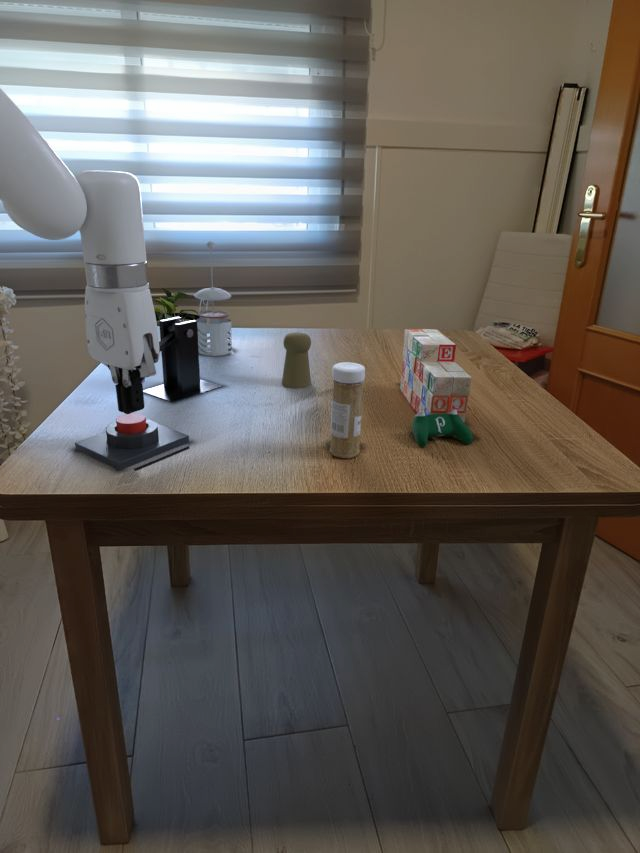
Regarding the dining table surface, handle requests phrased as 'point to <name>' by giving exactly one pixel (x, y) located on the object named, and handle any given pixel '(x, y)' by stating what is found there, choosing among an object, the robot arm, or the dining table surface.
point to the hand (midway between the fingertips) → (131, 410)
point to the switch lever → (168, 336)
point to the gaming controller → (440, 427)
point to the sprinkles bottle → (346, 409)
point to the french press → (213, 321)
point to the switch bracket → (180, 364)
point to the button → (131, 423)
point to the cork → (296, 361)
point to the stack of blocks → (433, 374)
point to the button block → (132, 445)
